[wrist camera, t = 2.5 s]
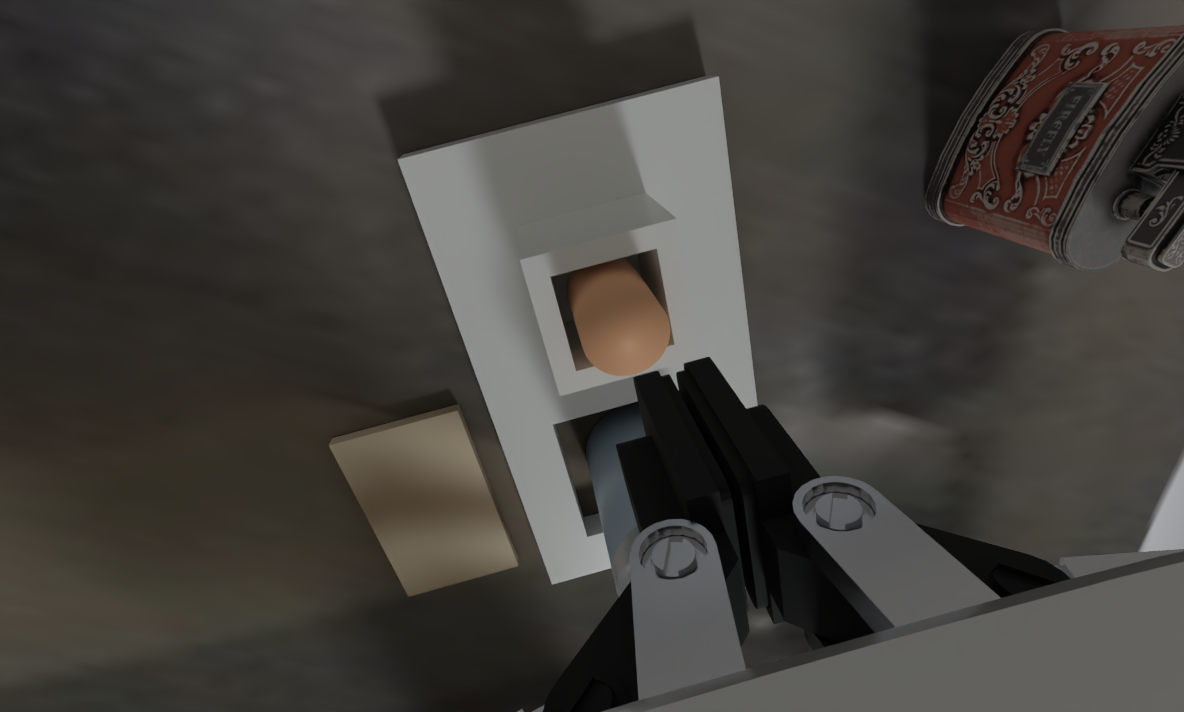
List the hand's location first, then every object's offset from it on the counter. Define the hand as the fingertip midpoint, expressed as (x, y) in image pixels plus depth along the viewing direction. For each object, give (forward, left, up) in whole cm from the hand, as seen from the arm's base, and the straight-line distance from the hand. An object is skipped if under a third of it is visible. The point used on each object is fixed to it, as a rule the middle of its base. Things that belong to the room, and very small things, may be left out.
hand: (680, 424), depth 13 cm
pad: (-11, +11, -14) cm, 21 cm away
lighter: (0, -18, -14) cm, 23 cm away
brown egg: (-1, 0, -11) cm, 11 cm away
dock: (-6, 0, -14) cm, 15 cm away
